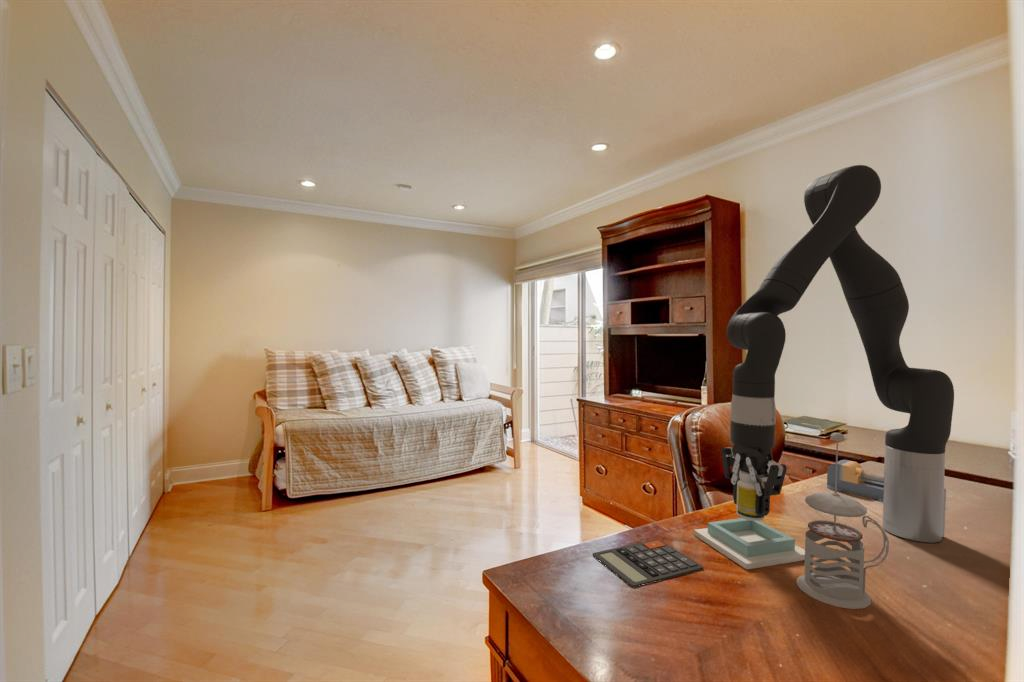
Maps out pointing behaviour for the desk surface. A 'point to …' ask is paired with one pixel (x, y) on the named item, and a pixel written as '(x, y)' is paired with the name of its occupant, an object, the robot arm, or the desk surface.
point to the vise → (855, 480)
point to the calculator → (647, 562)
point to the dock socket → (750, 543)
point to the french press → (837, 551)
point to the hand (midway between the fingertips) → (750, 509)
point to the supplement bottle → (747, 497)
